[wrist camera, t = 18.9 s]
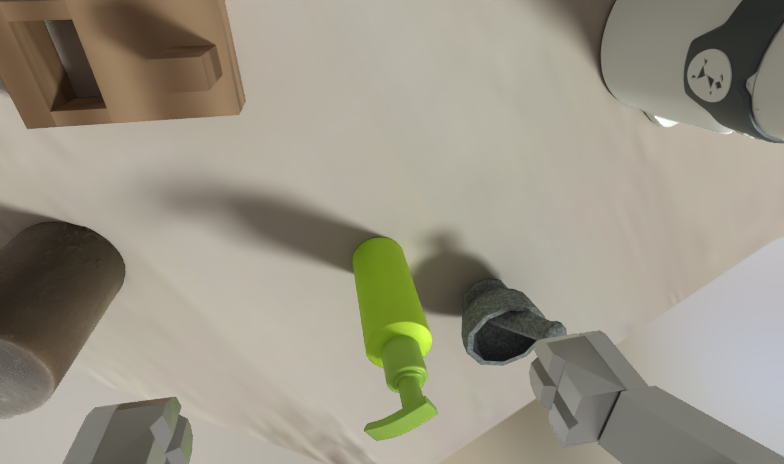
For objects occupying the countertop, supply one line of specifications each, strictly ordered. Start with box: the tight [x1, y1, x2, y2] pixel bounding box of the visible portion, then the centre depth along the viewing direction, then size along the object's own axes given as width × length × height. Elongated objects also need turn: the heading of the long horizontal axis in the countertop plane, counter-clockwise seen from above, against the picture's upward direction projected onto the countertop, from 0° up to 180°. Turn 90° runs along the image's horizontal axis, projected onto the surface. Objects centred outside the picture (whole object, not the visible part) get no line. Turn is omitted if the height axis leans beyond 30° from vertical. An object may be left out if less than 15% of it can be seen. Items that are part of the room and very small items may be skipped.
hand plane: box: [0, 0, 246, 129], centre depth 28 cm, size 15×8×9 cm, turn 91°
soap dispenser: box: [352, 237, 438, 441], centre depth 38 cm, size 6×7×20 cm
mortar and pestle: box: [462, 279, 567, 365], centre depth 47 cm, size 11×9×12 cm
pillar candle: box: [0, 222, 125, 419], centre depth 34 cm, size 10×10×15 cm
